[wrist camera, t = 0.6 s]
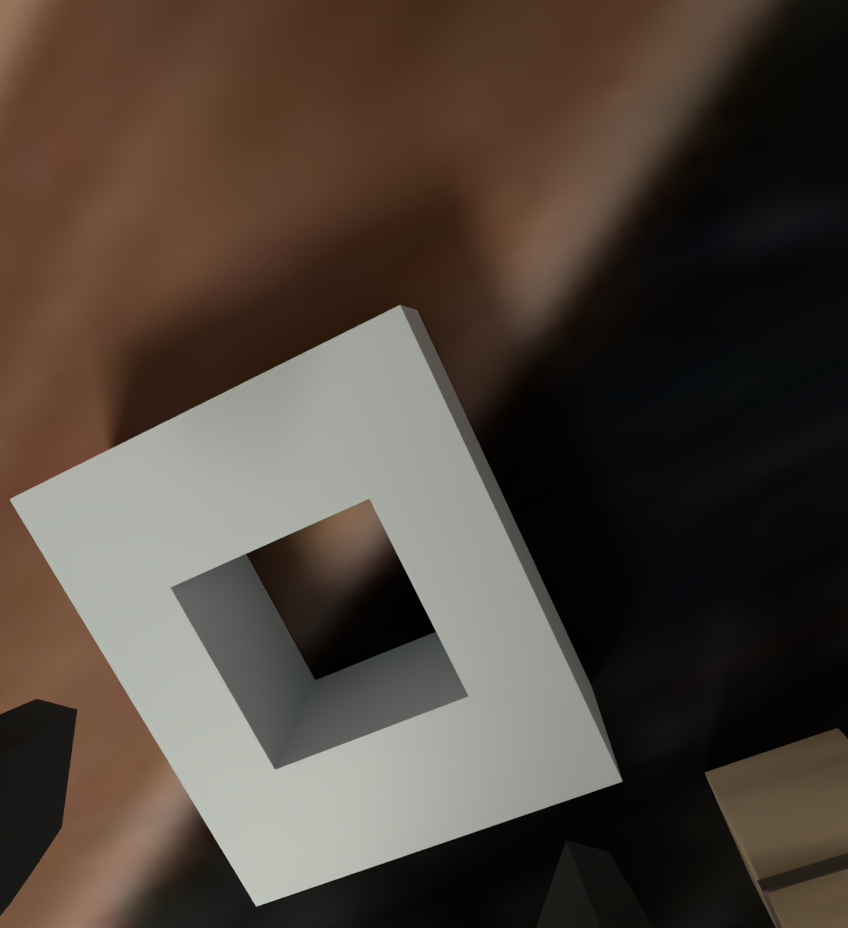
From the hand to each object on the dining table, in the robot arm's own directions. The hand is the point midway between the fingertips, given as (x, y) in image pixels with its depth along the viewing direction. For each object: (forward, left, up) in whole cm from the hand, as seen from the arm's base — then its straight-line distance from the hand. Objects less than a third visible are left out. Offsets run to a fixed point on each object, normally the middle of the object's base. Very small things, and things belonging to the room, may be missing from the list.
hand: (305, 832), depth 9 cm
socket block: (0, +1, -10) cm, 10 cm away
